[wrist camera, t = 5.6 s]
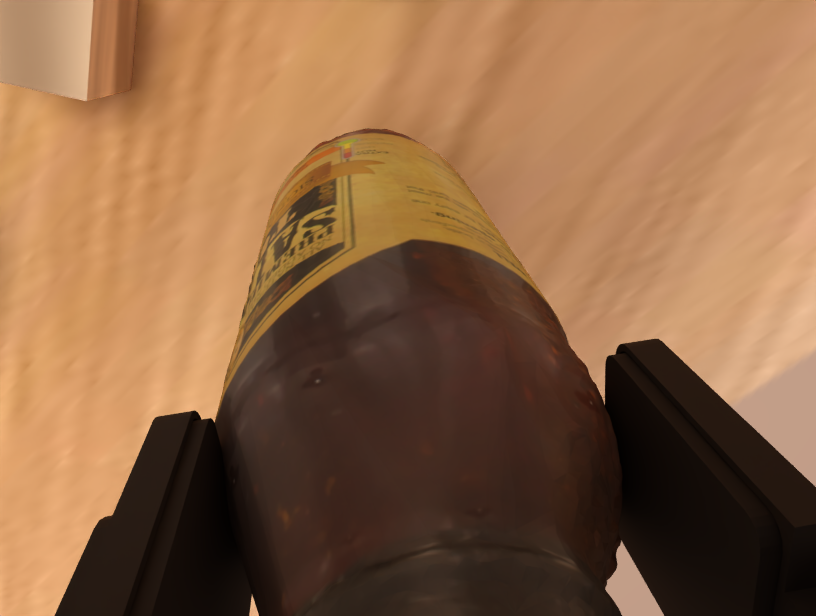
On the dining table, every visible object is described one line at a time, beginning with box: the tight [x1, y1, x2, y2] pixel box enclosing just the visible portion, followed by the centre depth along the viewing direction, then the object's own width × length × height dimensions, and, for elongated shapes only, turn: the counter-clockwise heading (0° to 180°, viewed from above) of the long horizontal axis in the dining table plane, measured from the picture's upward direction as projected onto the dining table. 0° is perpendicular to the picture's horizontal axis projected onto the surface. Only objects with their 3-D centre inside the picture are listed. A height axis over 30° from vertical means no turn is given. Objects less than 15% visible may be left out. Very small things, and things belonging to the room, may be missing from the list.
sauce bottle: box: [215, 129, 623, 616], centre depth 12 cm, size 7×6×20 cm
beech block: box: [0, 0, 139, 101], centre depth 25 cm, size 4×4×6 cm
